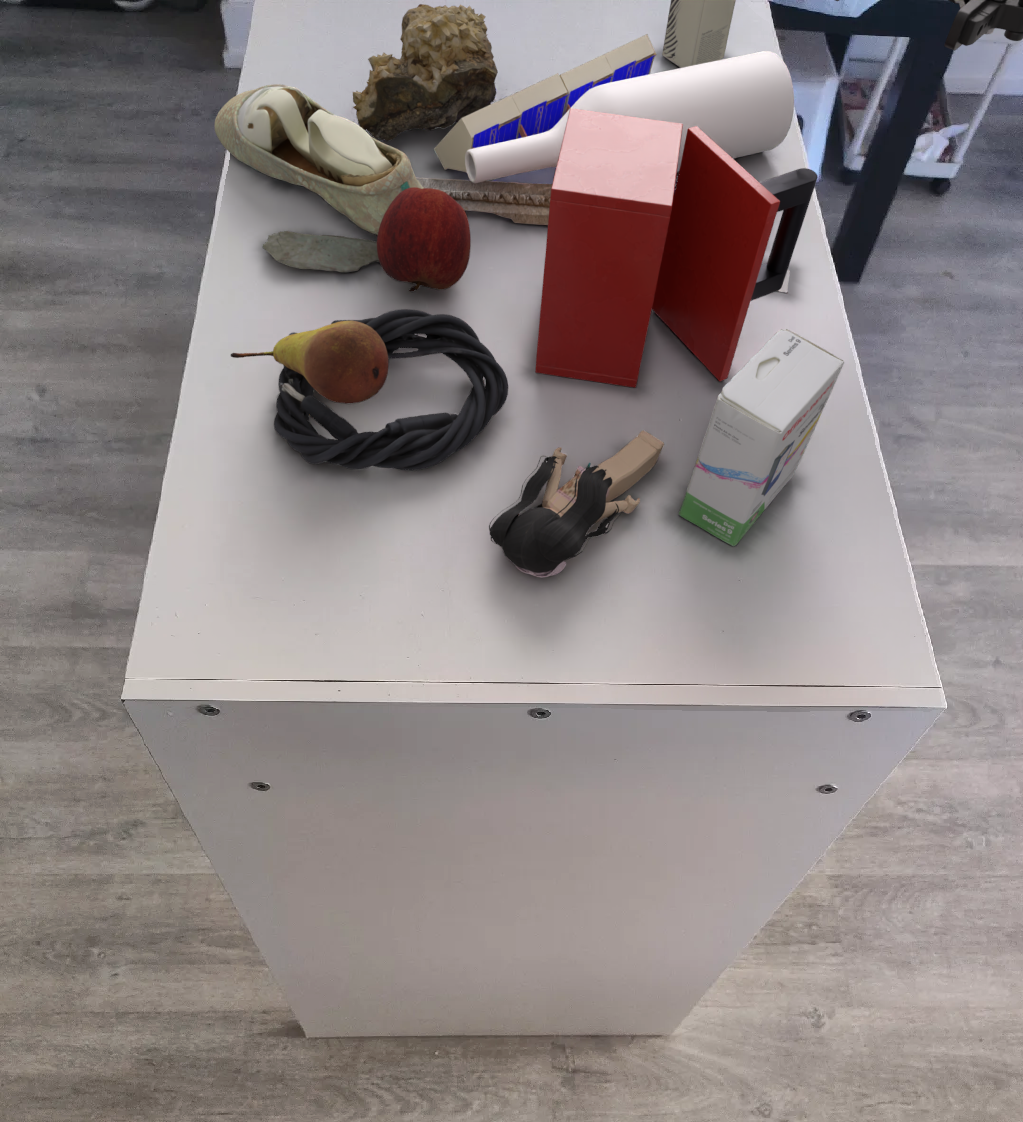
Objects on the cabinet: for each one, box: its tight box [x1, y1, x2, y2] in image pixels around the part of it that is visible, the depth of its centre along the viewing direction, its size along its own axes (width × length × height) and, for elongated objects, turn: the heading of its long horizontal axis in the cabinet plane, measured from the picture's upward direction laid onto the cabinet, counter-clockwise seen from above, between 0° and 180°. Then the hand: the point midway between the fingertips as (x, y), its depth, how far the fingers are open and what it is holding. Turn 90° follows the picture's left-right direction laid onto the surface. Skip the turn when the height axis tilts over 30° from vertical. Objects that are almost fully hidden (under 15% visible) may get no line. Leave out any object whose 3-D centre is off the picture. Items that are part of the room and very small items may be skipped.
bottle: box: [465, 50, 795, 183], centre depth 90 cm, size 8×8×30 cm
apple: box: [376, 187, 472, 293], centre depth 81 cm, size 7×8×8 cm
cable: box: [273, 308, 509, 472], centre depth 75 cm, size 17×14×4 cm
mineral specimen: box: [352, 3, 499, 142], centre depth 93 cm, size 14×13×10 cm
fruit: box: [230, 321, 389, 405], centre depth 72 cm, size 6×6×12 cm
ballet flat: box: [213, 83, 423, 236], centre depth 87 cm, size 8×25×8 cm, turn 52°
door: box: [651, 126, 818, 382], centre depth 77 cm, size 6×10×15 cm, turn 30°
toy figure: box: [488, 430, 665, 578], centre depth 70 cm, size 7×6×15 cm
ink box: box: [678, 328, 845, 547], centre depth 69 cm, size 9×5×12 cm, turn 143°
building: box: [433, 33, 658, 173], centre depth 94 cm, size 23×6×4 cm
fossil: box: [416, 177, 552, 226], centre depth 90 cm, size 18×3×4 cm
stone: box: [262, 230, 380, 273], centre depth 85 cm, size 11×2×5 cm
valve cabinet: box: [534, 108, 683, 388], centre depth 76 cm, size 8×10×16 cm
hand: (894, 7), depth 65 cm, fingers open, 8 cm apart
